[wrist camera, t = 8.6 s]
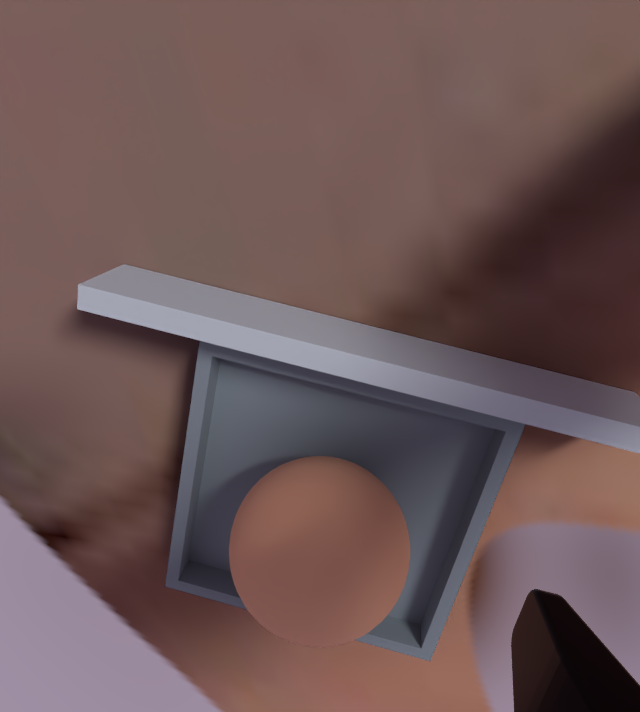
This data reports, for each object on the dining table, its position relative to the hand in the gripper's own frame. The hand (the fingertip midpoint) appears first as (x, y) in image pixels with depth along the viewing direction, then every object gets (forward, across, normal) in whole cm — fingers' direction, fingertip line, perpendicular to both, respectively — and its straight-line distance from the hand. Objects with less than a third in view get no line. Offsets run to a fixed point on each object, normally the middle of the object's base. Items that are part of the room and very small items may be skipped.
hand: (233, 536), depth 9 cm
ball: (+11, -1, +7) cm, 13 cm away
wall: (+12, -1, 0) cm, 12 cm away
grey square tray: (+12, -1, +7) cm, 14 cm away
